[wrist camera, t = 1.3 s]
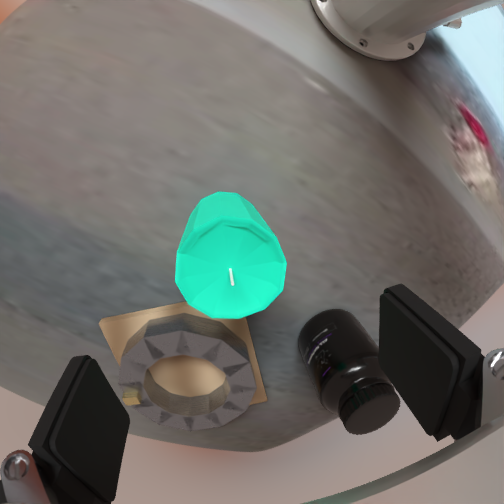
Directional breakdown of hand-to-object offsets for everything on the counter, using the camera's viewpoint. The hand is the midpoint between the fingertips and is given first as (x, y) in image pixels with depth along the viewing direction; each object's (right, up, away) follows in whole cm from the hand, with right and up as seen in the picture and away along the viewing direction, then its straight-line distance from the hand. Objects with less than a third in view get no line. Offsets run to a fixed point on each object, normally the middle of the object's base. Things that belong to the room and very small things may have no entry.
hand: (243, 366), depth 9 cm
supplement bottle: (+8, -5, +22) cm, 24 cm away
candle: (-2, +6, +17) cm, 18 cm away
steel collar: (-6, -8, +21) cm, 23 cm away
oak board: (-6, -8, +21) cm, 23 cm away
